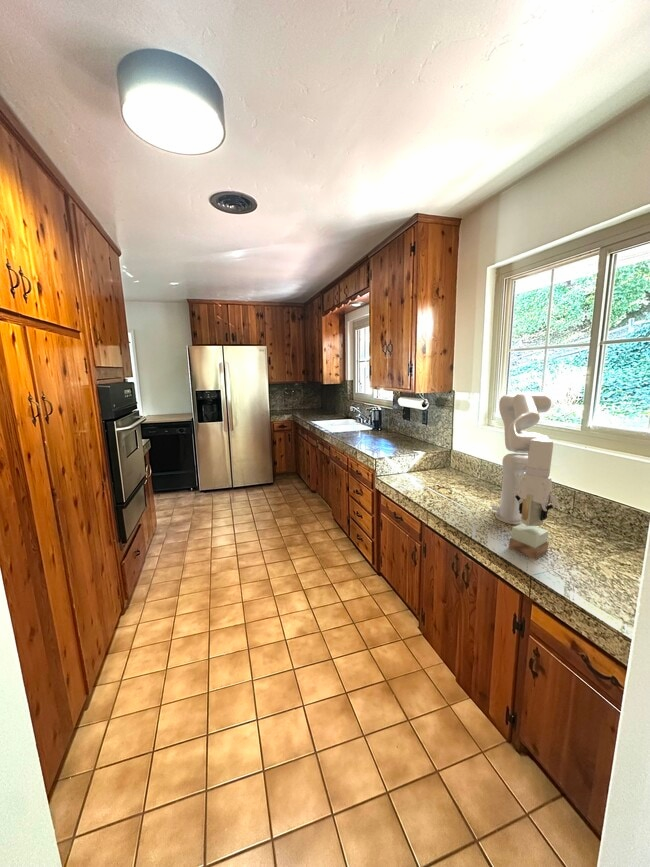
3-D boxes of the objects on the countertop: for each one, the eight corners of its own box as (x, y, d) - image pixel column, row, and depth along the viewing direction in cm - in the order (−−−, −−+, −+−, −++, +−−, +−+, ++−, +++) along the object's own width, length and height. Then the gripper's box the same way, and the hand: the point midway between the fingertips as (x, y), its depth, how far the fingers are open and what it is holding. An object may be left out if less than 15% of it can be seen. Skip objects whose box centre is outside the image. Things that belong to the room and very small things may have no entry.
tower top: (511, 538, 135) (512, 527, 135) (523, 532, 140) (524, 522, 139) (535, 548, 128) (536, 537, 127) (547, 541, 133) (548, 530, 132)
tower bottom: (508, 549, 136) (509, 538, 135) (520, 542, 142) (521, 531, 141) (535, 560, 128) (537, 549, 127) (547, 552, 134) (548, 541, 133)
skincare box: (535, 521, 134) (539, 491, 132) (542, 526, 130) (547, 495, 128) (519, 521, 134) (523, 491, 132) (526, 526, 130) (530, 495, 128)
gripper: (509, 467, 133) (504, 511, 136) (559, 479, 119) (553, 527, 123) (518, 464, 137) (513, 506, 141) (568, 475, 124) (561, 521, 127)
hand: (532, 515), depth 132 cm, fingers closed on skincare box, 6 cm apart
